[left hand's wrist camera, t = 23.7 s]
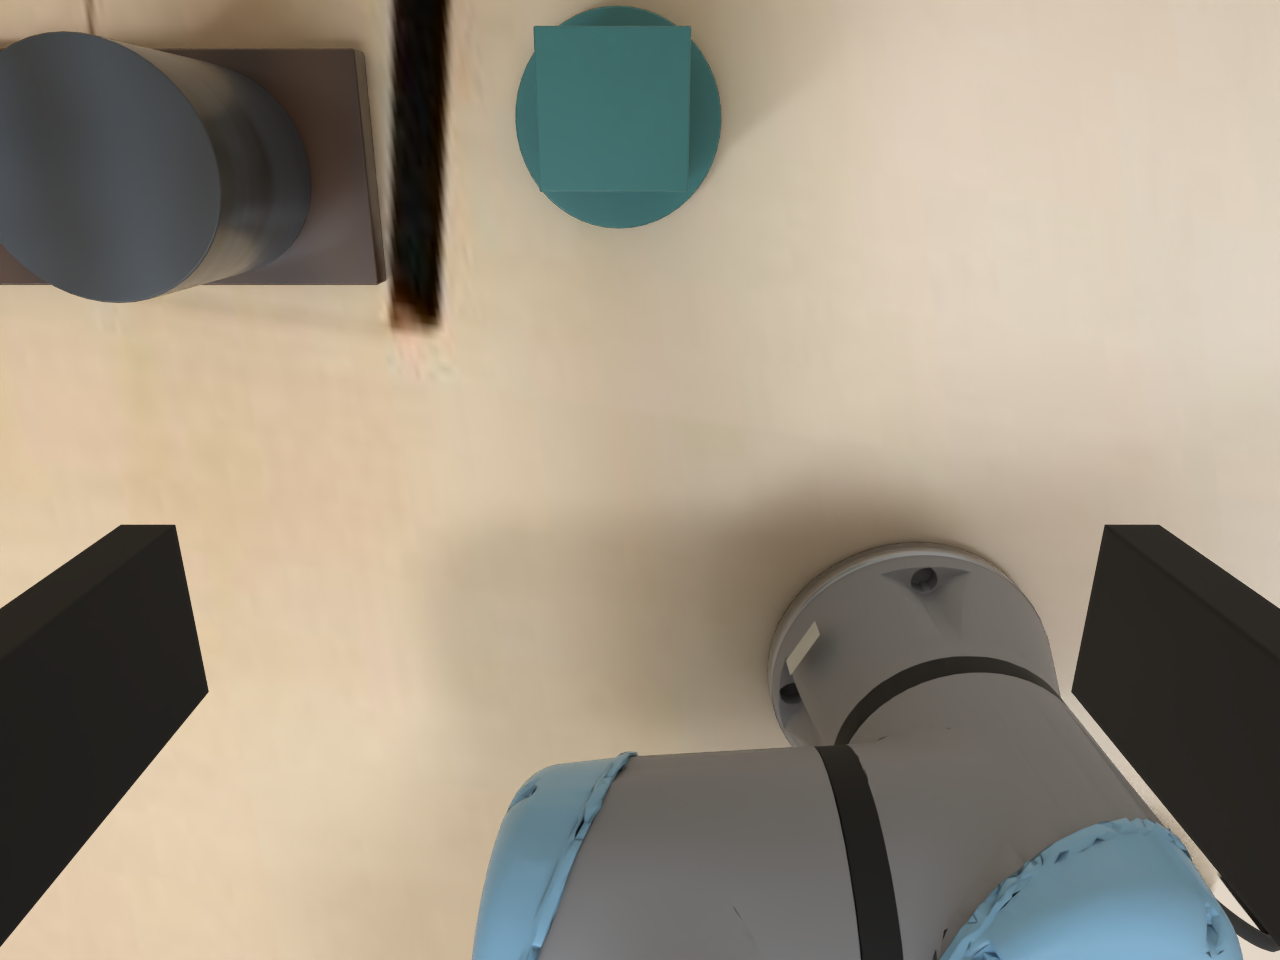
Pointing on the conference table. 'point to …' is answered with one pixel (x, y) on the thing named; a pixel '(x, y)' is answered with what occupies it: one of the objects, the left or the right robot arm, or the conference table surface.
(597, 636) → the conference table surface
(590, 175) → the cap block
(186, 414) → the conference table surface
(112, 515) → the conference table surface
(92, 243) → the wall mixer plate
